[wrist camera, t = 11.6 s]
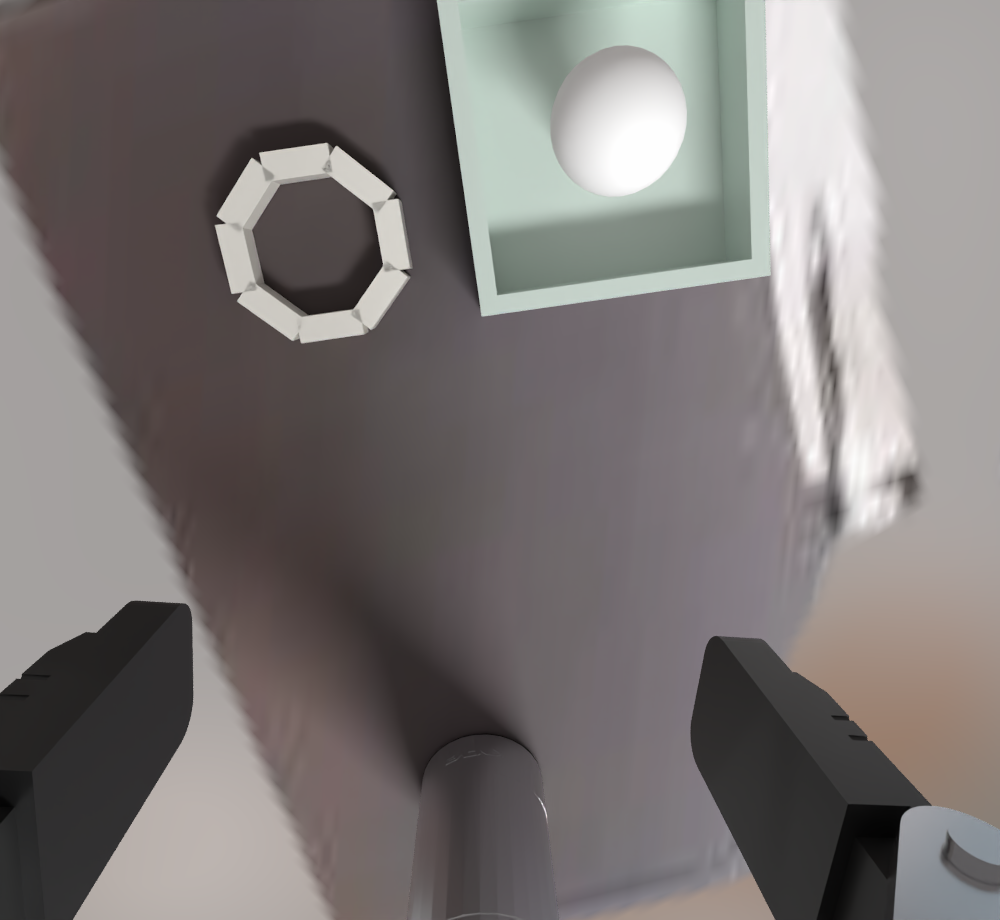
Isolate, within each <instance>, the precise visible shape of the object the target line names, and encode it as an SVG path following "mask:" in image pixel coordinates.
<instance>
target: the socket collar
mask: <svg viewBox="0 0 1000 920" xmlns="http://www.w3.org/2000/svg"><path fill="white" fill-rule="evenodd" d="M259 154H260V159H261V162H259V161H257V160H255V159H253V158H251V160H250V161H249V163H248V165H247V166H246V168H245V170H244V171H243V173H242V174H241V176H240V178H239V179H238V181H237V183H236V184H235V186H234V188H233V189H232V191H231V193H230V194H229V196H228V197H227V199H226V201H225V202H224V204H223V206H222V207H221V209H220V211H219V212H218V214H217V215H216V216H217V217H218V218H220V219H221V220H222V221H224V222H225V223H226V224H220V225H215V228H216V232H217V236H218V240H219V244H220V248H221V252H222V256H223V260H224V264H225V268H226V273H227V277H228V281H229V285H230V289H231V293H232V294H235V293H242V294H241V296H240V298H239V299H238V301H237V302H238V303H240V304H241V305H243V306H244V307H246V308H247V309H248V310H250V311H251V312H253V313H254V314H255V315H257V316H258V317H260V318H261V319H262V320H264V321H265V322H267V323H268V324H269V325H271V326H272V327H274V328H275V329H276V330H278V331H279V332H281V333H282V334H283V335H285V336H286V337H288V338H289V339H291V340H292V341H294V340H297V339H300V340H301V343H307V342H314V341H321V340H328V339H335V338H342V337H349V336H356V335H363V334H366V333H368V332H369V331H368V328H369V329H371V330H372V329H374V328H376V326H377V325H378V323H379V322H380V320H381V319H382V318H383V316H384V315H385V313H386V312H387V310H388V309H389V308H390V306H391V305H392V303H393V302H394V300H395V299H396V297H397V296H398V295H399V293H400V292H401V290H402V289H403V287H404V286H405V285H406V283H407V282H408V280H409V279H410V276H409V275H408V274H406V273H405V272H404V271H403V270H405V269H412V268H413V267H412V261H411V255H410V249H409V243H408V237H407V231H406V225H405V219H404V213H403V207H402V202H401V201H400V200H399V199H394V197H395V196H396V194H397V193H395V192H394V191H393V190H392V189H391V188H390V187H388V186H387V185H386V184H385V183H383V182H382V181H381V180H379V179H378V178H377V177H376V176H374V175H373V174H372V173H371V172H369V171H368V170H367V169H365V168H364V167H363V166H362V165H360V164H359V163H358V162H357V161H355V160H354V159H353V158H352V157H350V156H349V155H348V154H346V153H345V152H344V151H343V150H341V149H340V148H339V147H338V146H336V147H335V148H333V147H332V146H330V145H329V144H328V143H323V144H316V145H309V146H302V147H295V148H288V149H281V150H274V151H267V152H261V153H259ZM329 177H332V178H334V179H335V180H336V181H338V182H339V183H340V184H341V185H343V186H344V187H345V188H347V189H348V190H349V191H350V192H352V193H353V194H354V195H356V196H357V197H358V198H359V199H361V200H362V201H363V202H365V203H366V204H367V205H369V206H370V207H371V208H372V209H373V211H374V216H375V222H376V228H377V233H378V239H379V244H380V250H381V255H382V261H383V267H382V268H381V270H380V271H379V273H378V274H377V276H376V277H375V279H374V280H373V282H372V283H371V285H370V286H369V287H368V289H367V290H366V292H365V293H364V295H363V296H362V298H361V299H360V301H359V302H358V304H357V305H356V306H355V308H354V309H349V310H342V311H335V312H328V313H321V314H314V315H307V314H306V313H305V312H303V311H302V310H300V309H299V308H298V307H296V306H295V305H293V304H292V303H291V302H289V301H288V300H287V299H285V298H284V297H282V296H281V295H280V294H278V293H277V292H275V291H274V290H273V289H271V288H270V287H269V286H267V285H266V284H264V279H263V275H262V271H261V266H260V262H259V258H258V253H257V249H256V245H255V240H254V236H253V232H252V229H253V227H254V226H255V224H256V223H257V221H258V219H259V218H260V216H261V215H262V213H263V211H264V210H265V208H266V207H267V205H268V203H269V202H270V200H271V199H272V197H273V195H274V194H275V192H276V191H277V189H278V187H279V186H280V185H281V184H288V183H295V182H302V181H309V180H316V179H323V178H329Z"/></svg>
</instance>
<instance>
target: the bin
mask: <svg viewBox="0 0 1000 920" xmlns="http://www.w3.org/2000/svg"><path fill="white" fill-rule="evenodd" d="M437 5H438V12H439V19H440V26H441V33H442V40H443V47H444V54H445V61H446V68H447V75H448V82H449V90H450V97H451V104H452V111H453V118H454V125H455V132H456V139H457V146H458V153H459V160H460V167H461V174H462V181H463V188H464V195H465V202H466V209H467V216H468V223H469V230H470V238H471V245H472V252H473V259H474V266H475V273H476V280H477V287H478V294H479V301H480V308H481V315H482V316H489V315H496V314H503V313H510V312H517V311H524V310H531V309H538V308H545V307H552V306H559V305H566V304H573V303H580V302H587V301H594V300H601V299H608V298H615V297H622V296H629V295H636V294H643V293H650V292H657V291H665V290H672V289H679V288H686V287H693V286H700V285H707V284H714V283H721V282H728V281H735V280H742V279H749V278H756V277H763V276H770V226H769V174H768V123H767V71H766V20H765V0H437ZM623 45H630V46H635V47H640V48H643V49H645V50H648V51H650V52H652V53H654V54H656V55H657V56H658V57H660V58H661V59H662V60H664V61H665V62H666V63H667V64H668V65H669V67H670V68H671V69H672V70H673V71H674V73H675V75H676V76H677V78H678V80H679V82H680V84H681V86H682V89H683V92H684V95H685V100H686V108H687V124H686V130H685V134H684V139H683V142H682V144H681V146H680V149H679V151H678V154H677V156H676V158H675V159H674V161H673V162H672V164H671V166H670V167H669V168H668V170H667V171H666V172H665V173H664V174H663V175H662V176H661V177H660V178H659V179H658V180H656V181H655V182H654V183H652V184H651V185H650V186H648V187H646V188H644V189H642V190H640V191H638V192H636V193H634V194H629V195H625V196H620V197H607V196H601V195H596V194H594V193H591V192H589V191H586V190H584V189H583V188H581V187H580V186H579V185H577V184H576V183H574V182H573V181H572V180H571V179H570V178H569V177H568V175H567V174H566V173H565V172H564V170H563V169H562V167H561V166H560V164H559V162H558V160H557V158H556V155H555V153H554V150H553V146H552V141H551V136H550V119H551V113H552V107H553V104H554V101H555V99H556V96H557V93H558V90H559V88H560V87H561V85H562V83H563V81H564V80H565V78H566V76H567V75H568V74H569V73H570V72H571V71H572V69H573V68H574V67H575V66H576V65H577V64H579V63H580V62H581V61H582V60H584V59H585V58H586V57H588V56H590V55H592V54H594V53H596V52H597V51H599V50H601V49H605V48H609V47H612V46H623Z"/></svg>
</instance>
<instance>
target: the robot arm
mask: <svg viewBox="0 0 1000 920" xmlns="http://www.w3.org/2000/svg"><path fill="white" fill-rule="evenodd" d="M192 705H193V649H192V616H191V611H190V608H189V606H188V605H187V604H182V603H165V602H148V601H147V602H146V601H131V602H129V603H128V604H126V605H125V607H123V608H122V609H121V610H120V611H119V612H118V613H117V614H116V615H115V616H114V617H113V618H112V619H110V620H109V621H108V622H107V623H106V624H105V625H104V626H103V627H102V628H101V629H100V630H99V631H98V632H97V633H90V632H85V633H83V634H81V635H80V636H77V637H75V638H73V639H71V640H69V641H67V642H65V643H63V644H62V645H59V646H57V647H55V648H53V649H51V650H50V651H48V652H47V653H46V654H44V655H43V656H42V657H41V658H40V659H39V660H37V661H36V662H35V663H34V664H33V665H32V666H31V667H29V668H28V669H27V670H26V671H25V672H24V673H23V674H22V677H21V679H16V680H15V681H14V682H13V683H11V684H10V685H9V686H8V687H7V688H5V689H4V690H3V691H2V692H1V693H0V920H73V918H74V917H75V915H76V913H77V912H78V910H79V909H80V907H81V905H82V904H83V902H84V900H85V899H86V897H87V895H88V894H89V892H90V891H91V889H92V887H93V886H94V884H95V882H96V881H97V879H98V877H99V876H100V874H101V873H102V871H103V869H104V868H105V866H106V864H107V862H108V861H109V860H110V858H111V856H112V854H113V853H114V851H115V850H116V848H117V847H118V845H119V843H120V842H121V840H122V838H123V837H124V835H125V833H126V832H127V830H128V829H129V827H130V825H131V824H132V822H133V820H134V819H135V817H136V815H137V814H138V812H139V811H140V809H141V807H142V806H143V804H144V802H145V801H146V799H147V797H148V796H149V794H150V793H151V791H152V789H153V788H154V786H155V784H156V783H157V781H158V780H159V778H160V776H161V775H162V773H163V771H164V770H165V768H166V767H167V765H168V763H169V762H170V760H171V758H172V757H173V755H174V753H175V752H176V750H177V749H178V747H179V745H180V744H181V742H182V740H183V738H184V736H185V733H186V731H187V727H188V725H189V721H190V717H191V712H192ZM691 746H692V752H693V756H694V759H695V762H696V764H697V767H698V769H699V771H700V773H701V775H702V777H703V779H704V780H705V782H706V784H707V786H708V788H709V790H710V792H711V794H712V796H713V798H714V800H715V802H716V804H717V806H718V808H719V810H720V812H721V814H722V816H723V818H724V820H725V822H726V824H727V826H728V828H729V830H730V832H731V834H732V836H733V838H734V839H735V841H736V843H737V845H738V847H739V849H740V851H741V853H742V855H743V857H744V859H745V861H746V863H747V865H748V867H749V869H750V871H751V873H752V875H753V877H754V879H755V881H756V883H757V885H758V887H759V889H760V891H761V893H762V894H763V897H764V898H765V900H766V902H767V904H768V906H769V908H770V910H771V912H772V914H773V916H774V918H775V920H1000V830H999V829H997V828H995V827H993V826H991V825H990V824H988V823H986V822H984V821H982V820H979V819H977V818H975V817H973V816H970V815H967V814H965V813H962V812H959V811H956V810H952V809H948V808H943V807H937V806H932V805H931V804H930V803H929V802H928V801H927V800H926V799H925V798H924V797H923V796H922V794H921V793H920V792H919V791H918V790H917V789H916V788H915V787H914V786H913V785H912V784H911V783H910V782H909V780H908V779H907V778H906V777H905V776H904V775H903V774H902V773H901V772H900V771H899V770H898V769H897V768H896V766H895V765H894V764H893V763H892V762H891V761H890V760H889V759H888V758H887V757H886V756H885V755H884V753H883V752H882V751H881V750H880V749H879V748H878V747H877V746H876V745H875V744H874V743H873V742H872V741H868V740H867V735H866V734H865V733H864V732H863V731H862V730H861V729H860V728H859V726H858V725H857V724H856V723H855V722H854V721H849V716H848V715H847V714H846V712H845V711H844V710H843V709H842V708H841V707H840V706H839V705H838V704H837V703H836V702H835V701H834V700H833V699H832V697H831V696H830V695H829V694H828V693H827V692H825V691H824V690H822V689H821V688H819V687H818V686H816V685H815V684H813V683H812V682H810V681H809V680H807V679H806V678H804V677H803V676H801V675H799V674H798V673H796V672H792V671H791V670H790V669H789V668H788V667H787V666H786V664H785V663H784V662H783V661H782V660H781V659H780V658H779V657H778V655H777V654H776V653H775V652H774V651H773V650H772V649H771V648H770V646H769V645H768V644H767V643H766V642H765V641H764V640H762V639H756V638H739V637H722V636H714V637H712V638H711V639H710V640H709V642H708V644H707V646H706V649H705V654H704V659H703V664H702V669H701V674H700V679H699V684H698V689H697V695H696V700H695V705H694V710H693V715H692V721H691ZM407 920H559V912H558V904H557V896H556V888H555V879H554V871H553V863H552V855H551V847H550V839H549V831H548V822H547V813H546V805H545V798H544V790H543V782H542V775H541V771H540V768H539V766H538V763H537V762H536V760H535V759H534V757H533V756H532V755H531V753H529V752H528V751H527V750H526V749H525V748H524V747H523V746H521V745H519V744H518V743H516V742H514V741H512V740H510V739H507V738H504V737H501V736H495V735H487V734H486V735H472V736H467V737H463V738H460V739H457V740H455V741H453V742H451V743H449V744H447V745H446V746H444V747H443V748H441V749H440V750H439V751H438V752H437V753H436V754H435V755H434V756H433V757H432V758H431V760H430V762H429V763H428V765H427V767H426V769H425V772H424V776H423V780H422V789H421V798H420V807H419V816H418V823H417V832H416V840H415V849H414V858H413V867H412V876H411V885H410V893H409V902H408V911H407Z"/></svg>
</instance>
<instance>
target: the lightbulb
mask: <svg viewBox="0 0 1000 920" xmlns="http://www.w3.org/2000/svg"><path fill="white" fill-rule="evenodd" d="M686 124H687V108H686V100H685V95H684V92H683V89H682V86H681V84H680V82H679V80H678V78H677V76H676V75H675V73H674V71H673V70H672V69H671V68H670V67H669V65H668V64H667V63H666V62H665V61H664V60H662V59H661V58H660V57H658V56H657V55H656V54H654V53H652V52H650V51H648V50H645V49H643V48H640V47H635V46H630V45H623V46H612V47H609V48H605V49H601V50H599V51H597V52H596V53H594V54H592V55H590V56H588V57H586V58H585V59H584V60H582V61H581V62H580V63H579V64H577V65H576V66H575V67H574V68H573V69H572V71H571V72H570V73H569V74H568V75H567V76H566V78H565V80H564V81H563V83H562V85H561V87H560V88H559V90H558V93H557V96H556V99H555V101H554V104H553V107H552V113H551V119H550V136H551V141H552V146H553V150H554V153H555V155H556V158H557V160H558V162H559V164H560V166H561V167H562V169H563V170H564V172H565V173H566V174H567V175H568V177H569V178H570V179H571V180H572V181H573V182H574V183H576V184H577V185H579V186H580V187H581V188H583V189H584V190H586V191H589V192H591V193H594V194H596V195H601V196H607V197H620V196H625V195H629V194H634V193H636V192H638V191H640V190H642V189H644V188H646V187H648V186H650V185H651V184H652V183H654V182H655V181H656V180H658V179H659V178H660V177H661V176H662V175H663V174H664V173H665V172H666V171H667V170H668V168H669V167H670V166H671V164H672V162H673V161H674V159H675V158H676V156H677V154H678V151H679V149H680V146H681V144H682V142H683V139H684V134H685V130H686Z"/></svg>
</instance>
